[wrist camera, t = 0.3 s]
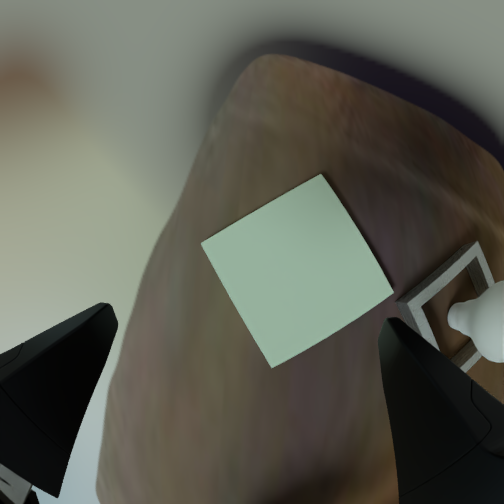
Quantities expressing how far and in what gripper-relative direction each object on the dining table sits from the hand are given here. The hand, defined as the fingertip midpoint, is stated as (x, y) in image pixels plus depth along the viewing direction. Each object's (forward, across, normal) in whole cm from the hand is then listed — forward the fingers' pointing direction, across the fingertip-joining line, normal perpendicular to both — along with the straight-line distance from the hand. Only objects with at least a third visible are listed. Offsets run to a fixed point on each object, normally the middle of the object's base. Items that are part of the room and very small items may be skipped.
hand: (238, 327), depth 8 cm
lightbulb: (+12, -18, +10) cm, 24 cm away
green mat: (+14, -3, +6) cm, 15 cm away
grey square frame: (+11, -18, +9) cm, 23 cm away
